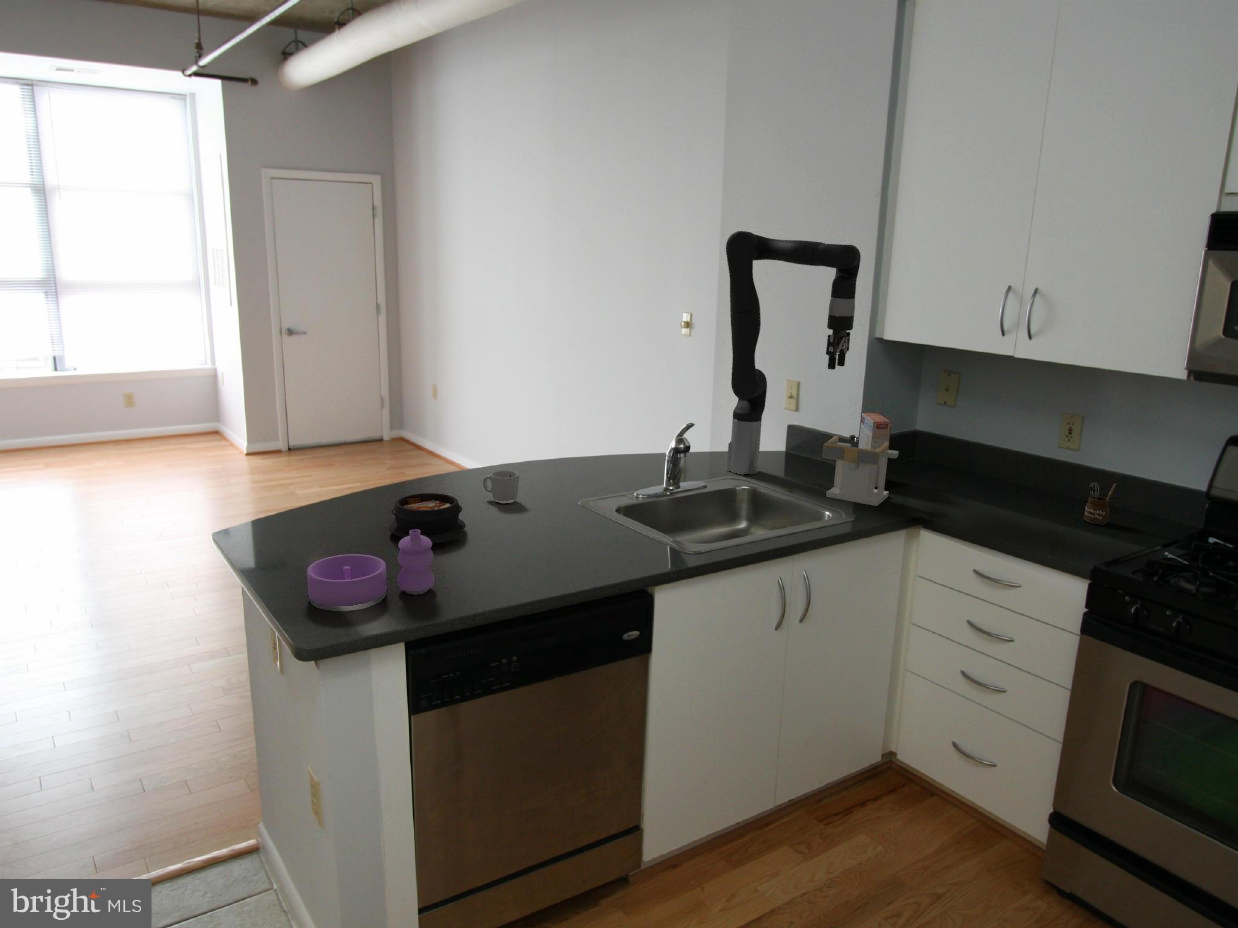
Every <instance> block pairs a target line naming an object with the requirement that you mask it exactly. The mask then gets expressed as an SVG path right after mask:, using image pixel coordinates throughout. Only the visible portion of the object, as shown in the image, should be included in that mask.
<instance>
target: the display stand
mask: <svg viewBox="0 0 1238 928" xmlns="http://www.w3.org/2000/svg"><path fill="white" fill-rule="evenodd" d="M833 444H834V445H841V446H849V447H852V444H851V443H845V442H839V441H838V442H834V443H833ZM878 449H879V448H878ZM878 449H876V450H878ZM899 454H900V453H899V450H893V449H892V450H890V449H888V450H886V449H885V450H884V451H883V452H882V453H881V454H880V456H881V462H880V471H879V480H878V487H877V489H876V487H875V479H876V470H877V465H870V464H863V463H856V462H849V461H842V460H835V461H836V462H835V471H834V482H833V487H831V488H830V489H829V490H827V491H826V495H825V497H827V498H831V499H838V500H840V501H841V500H843V501H847V502H852V503H858V504H865V505H869V506H875V507H877V506H879V505H880V504H881V503H882V502H883V501H884V500H886V499H887V498H888V497H889V491H886V490H885V483H886V473H887V466H888V458H891V459H897V458H898V457H899Z"/></svg>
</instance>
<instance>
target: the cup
mask: <svg viewBox="0 0 1238 928" xmlns="http://www.w3.org/2000/svg"><path fill="white" fill-rule="evenodd" d="M489 480H490V483H491V488H489V487H488V483H487V482H488V481H489ZM519 484H520V474H519V472H517V471H514V470H496V471H493V472H491V473H490V475H485V476H484V477H483V480H482V486H483V488H484V490H485V491H486V492H488V493H491V494H492V499H495V500H498V501H509V500H515V499H516V500H517V499H518V493H519V486H520V485H519Z"/></svg>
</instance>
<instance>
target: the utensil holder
mask: <svg viewBox="0 0 1238 928" xmlns="http://www.w3.org/2000/svg"><path fill="white" fill-rule="evenodd" d="M1092 485H1095V486H1094V487H1095V489H1097V490H1099V489H1100V487H1099V485H1098V483H1097V482H1095V483H1094V482H1091V483H1090V485H1089V486H1092ZM1116 485H1117V483H1116V482H1115V483H1113V485H1112V487H1111V488H1110V490H1109V492H1108V496H1107V497H1103V496H1099V493H1100V492H1095V494H1094V492H1091V495H1090V496H1089V497H1088V500H1087V501H1088V502H1087V503H1086V505H1085V508H1084V509H1085V510H1084V515H1083V521H1084V520H1086V521H1087V522H1090V523H1107V524H1108V521H1109V515H1110V506H1109V505H1110V502H1111V501H1110V499H1109V498H1110V496H1111V495H1112V493H1113V491H1114V489H1115V487H1116Z"/></svg>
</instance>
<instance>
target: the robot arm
mask: <svg viewBox="0 0 1238 928" xmlns="http://www.w3.org/2000/svg"><path fill="white" fill-rule="evenodd" d="M725 253H726V261H727V267H728V274H729V306H730V308H729V312H730V314H729V315H730V329H731V334H730V335H731V351H732V358H731V359H732V362H731V363H732V364H731V380H730V381H731V382H730V383H731V391H732V392H733V394H734V395H735V397H736V398H737V403H736V405H735V407H734V409H733V411H732V421H731V436H730V437H731V438H730V439H731V440H730V441H728V445H727V457H726V458H727V459H726V471H728V472H730V471H731V473H733V474H736V473H737V474H738V475H744V474H750V475H756V474H758V472H759V463H760V462H759V461H760V448H761V447H760V446H761V445H760V444H761V433H762V421H763V420H762V419H763V413H764V411H765V407H766V401H767V400H766V399H767V393H768V392H767V391H768V379H767V376H766V375H765V373H764V372H763V371H762V370H761V369H759V368H756V348H757V344H758V341H759V337H760V336H759V335H760V333H761V323H762V322H761V321H762V320H761V318H762V316H761V306H760V299H759V295H758V291H757V289H756V288H757V287H756V285H755V280H754V270H753V269H754V261H765V260H766V261H778V262H779V261H780V262H785V263H790V264H796V265H801V266H803V265H804V266H810V267H811V266H812V267H827V268H832V269H835V275H834V278H833V280H832V283H831V290H830V292H831V293H830V300H829V303H828V304H829V305H828V314H827V325H826V327H827V329H828V330H830V331H831V330H832V332H831V333H832V334H827V339H826V340H827V342H826V350H825V355H827V357H828V360H827V369H828V370H831V371H832V370H833V371H835V370H836V367H845V365H846V358H847V357H846V355H847V353H848V352H849V351H850V343H851V331H853V328H854V322H855V321H854V319H855V312H856V311H855V309H856V293H857V280H858V275H859V271H860V265H861V258H862V257H861V256H862V255H861V252H860V249H859V248H858V247H857V246H856V245H853V244H840V243H838V244H837V243H835V244H834V243H826V242H821V241H813V240H800V239H799V240H798V239H797V240H796V239H777V238H770V237H765V236H762V235H759V234H755V233H753V232H750V231H745V230H744V231H743V230H738V231H734V232H733V233H731V234H730V235H729V237H728V239H727V240H726V243H725ZM737 474H736V475H737Z"/></svg>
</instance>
